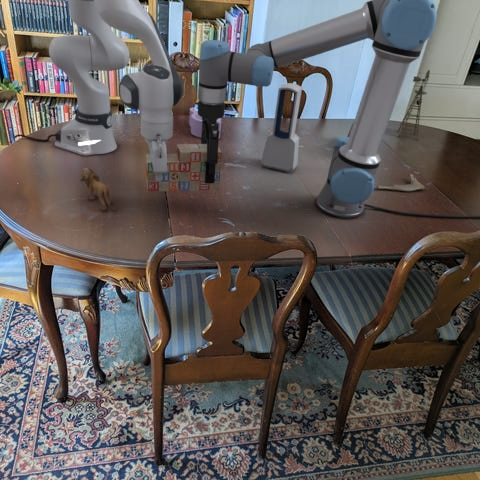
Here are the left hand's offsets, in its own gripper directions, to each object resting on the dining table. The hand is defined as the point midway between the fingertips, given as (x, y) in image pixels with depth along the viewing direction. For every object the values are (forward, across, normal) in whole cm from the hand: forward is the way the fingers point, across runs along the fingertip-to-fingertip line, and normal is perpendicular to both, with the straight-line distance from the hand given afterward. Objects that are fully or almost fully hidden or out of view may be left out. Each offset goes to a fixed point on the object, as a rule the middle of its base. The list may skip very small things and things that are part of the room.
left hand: (157, 174), depth 136 cm
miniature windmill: (+11, +60, -122) cm, 136 cm away
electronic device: (+11, +27, -48) cm, 55 cm away
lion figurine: (+11, +4, +18) cm, 21 cm away
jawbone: (+11, +10, -88) cm, 89 cm away
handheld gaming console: (+11, +42, -84) cm, 95 cm away
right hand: (+1, 0, -15) cm, 15 cm away
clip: (+11, +65, -26) cm, 70 cm away
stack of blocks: (+4, 0, -8) cm, 9 cm away
